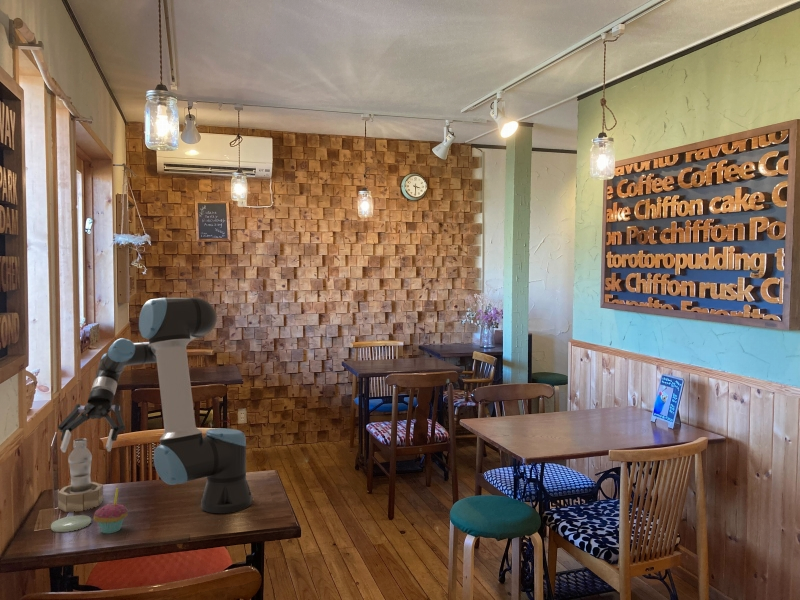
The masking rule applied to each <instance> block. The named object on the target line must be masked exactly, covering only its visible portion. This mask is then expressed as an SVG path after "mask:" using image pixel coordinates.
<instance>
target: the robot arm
mask: <svg viewBox="0 0 800 600" xmlns="http://www.w3.org/2000/svg"><path fill="white" fill-rule="evenodd" d="M217 321H218V316H217V311H216V310H215V308H214V306H213V305H212V304H211V303H210V302H208V300H205V299H203V298H200V297H159V298H151V299H149V300H146V302H145V303H144V305H143V306H142V307H141V310H140V313H139V318H138V331H139V333H140V336H141V337H142V338H144V339H146V340H148V341H145V342H144V341H143V342H133V341H131V340H130V339H127V338H123V337H121V338H118V339H116V340H115V341H114V342H113V343H112V344H111V345H110V346H109V348H108V349H107V352H106V353H104V354H103V355H102V356H101V359H100V361H99V362H98V367H97V371H96V373H95V374H96V375H95V378H94V379H93V383H92V386H91V389H90V391H89V392H90V393H89V396H88V398H87V402H86V404H85V405H81V404H80V403H76V405H75V406H74V409H73V410H72V411H71V412H70V413H69V414H68V415H67V417H65V418H64V419H63V421H62V422H61V423H60V424H59V425H58V426H57V429H58V430H59V432H60V433H61V437H60V440H61V445H60V447H59V448H60V450H61V452H62V453H66V452H67V449H68V446H69V443H70V440H71V438H72V433H71V432H73V431H74V430H75V429H77V428H78V427H79V426H80V425H82V424H84V422H87V421H88V420H90V419H92V420H94V419H103V418H104V419H105V420H106V422H107V423H108V424H109V425H110V426H111V428H110V430H109V434H108V438H107V441H106V445H105V448H106V451H107V452H111V450H112V446H113V443H114V442H116V441H117V439H118V435H119V432H121V431H122V432H125V431H126V427H125V424H124V423H125V422H124V421H123V417H122V414H121V410H122V408H121V405H120V403H118V402H117V403H115V404H113V403H114V402H113V401H114V398H115V394H116V391H117V387H118V384H119V381H120V377H121V374H122V373H123V372H124V369H125V368H126V367H127V366H135V365H144V364H145V365H146V364H156V366H157V375H158V383H159V385H158V386H159V391H160V399H161V401H160V403H161V410H162V411H161V412H162V419H163V427H164V432H163V434H162V436H160V438H159V443H160V444H159V445H158V446H157V447H155V449H154V451H153V465H154V468H155V471H156V473H157V475H158V477H159V478H160V480H161V481H162V482H163V483H165V484H167V485H170V486H172V485H173V486H175V485H179V484H186V483H187V482H190V481H196V480H199V479H204V478H206V483H205V486H204V490H203V494H202V496H201V499H200V508H201V510H202V511H203V512H206V513H211V514H231V513H235V512H239V511H243V510H245V509H247V508H249V507H250V506H251V505H252V503H253V495H252V492H251V489H250V485H249V483H248V480H247V439H246V435H245V433H244V432H243V431H242V430H240V429H236V428H235V429H233V428H221V427H218V428H210V429H208V430H206V433H205V436H203V432H202V430H200V429H199V428H198V427H197V425H196V419H195V417H196V416H195V411H194V409H195V408H194V401H193V394H192V384H191V378H190V367H189V360H188V351H187V346H188V344H189V343H190V342H191V341H194V340H195V339H201V338H203V337H205V336H207V335H208V334H210V333H211V332H212V331H213V330H214V328H215V327H216V324H217ZM112 410H113V412H114V413H115V416H116V419H117V421H118V425H117V424H116V422H115V420H113V419H112V417H111V416H110V415H109V413H110V412H111V411H112Z"/></svg>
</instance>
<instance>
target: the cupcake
mask: <svg viewBox="0 0 800 600" xmlns="http://www.w3.org/2000/svg"><path fill="white" fill-rule="evenodd" d="M116 487H117V488H115V493H114V494H115V495H114V500H113V503H112V502H110V503H107V504H105V505H103V506H101V507H99V508H98V509H96V510H95V511H94V514H93V518H92V519H93V521H94V522H96V523H97V524H98V525H99V528H100V531H101V533H103V534H114V533H117V532H118V531H120V530H121V529H122V525H123V522H124V519H125V518H126V517H128V516H129V515H128V514H129V512H128V507H126V506H125V505H123V504H121V503H118V495H119V485H117V486H116Z"/></svg>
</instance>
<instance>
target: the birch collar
mask: <svg viewBox="0 0 800 600" xmlns="http://www.w3.org/2000/svg"><path fill="white" fill-rule="evenodd" d="M70 487H71V484H70V485H66V486H63V487H62V488H61V489H60V490H59V491H58V493H57V494H58V495H57V496H58V497H57V498H58V500H57V502H58V507H57V508H59V509H58V510H61V511H62V512H64V513H72V512H74V511H75V512H83V510H85V511H88V510H91V509H94V508H93V507H95V508H98V507H99V506H100V505H101V504H102V503H103V502H104V485H103V484H102V483H99V482H96V481H91V488H92V491H89V492H85V493H77V494H70ZM102 501H103V502H102ZM97 506H98V507H97ZM90 508H91V509H90ZM87 509H88V510H87Z"/></svg>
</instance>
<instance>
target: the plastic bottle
mask: <svg viewBox="0 0 800 600" xmlns="http://www.w3.org/2000/svg"><path fill="white" fill-rule="evenodd" d="M87 441H88V439H87V438H77V439H74V440H73V441H72V443H73V444H72V448H73V449H72V451H71V452H70V453H69V455H68V459H67V461H68V466H69V471H70V473H69V474H70V485H71V487H70V494H77V493H85V492H89V491H92V488H91V482H92V480H91V468H92V458H93V455H92V453H91V451H90V450H89V448H87V446H88V442H87Z"/></svg>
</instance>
